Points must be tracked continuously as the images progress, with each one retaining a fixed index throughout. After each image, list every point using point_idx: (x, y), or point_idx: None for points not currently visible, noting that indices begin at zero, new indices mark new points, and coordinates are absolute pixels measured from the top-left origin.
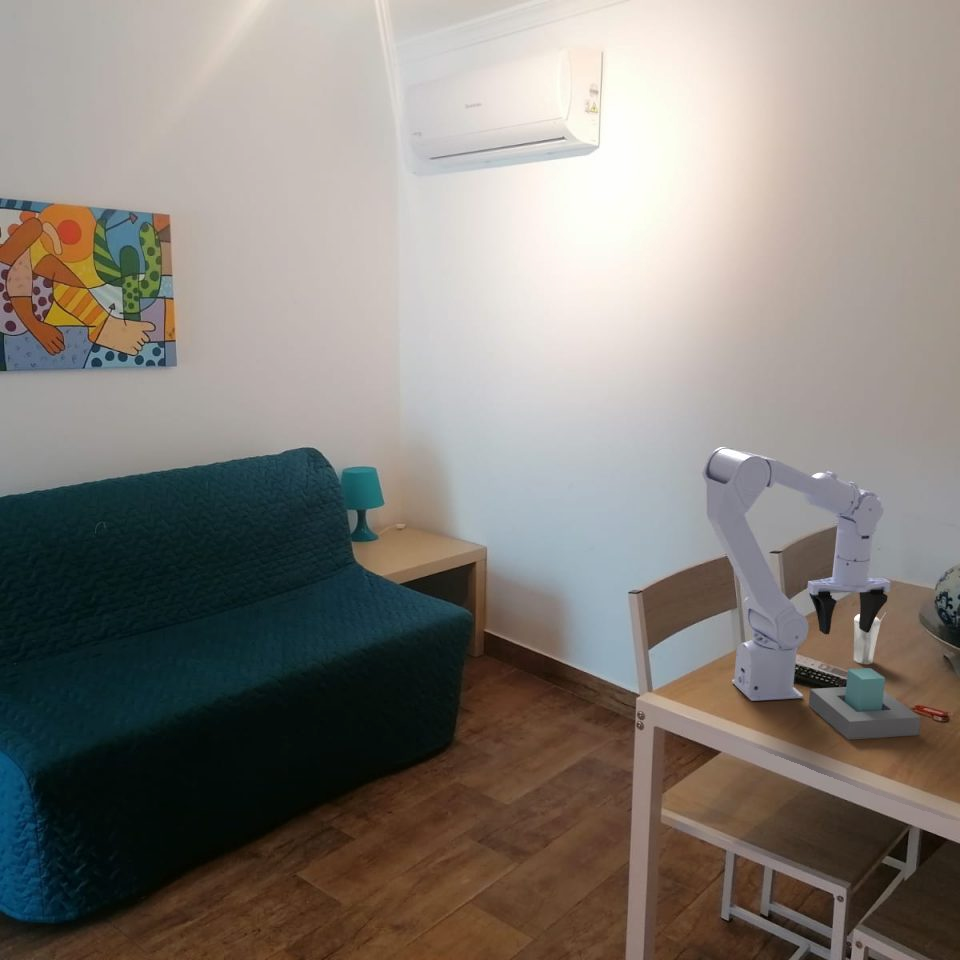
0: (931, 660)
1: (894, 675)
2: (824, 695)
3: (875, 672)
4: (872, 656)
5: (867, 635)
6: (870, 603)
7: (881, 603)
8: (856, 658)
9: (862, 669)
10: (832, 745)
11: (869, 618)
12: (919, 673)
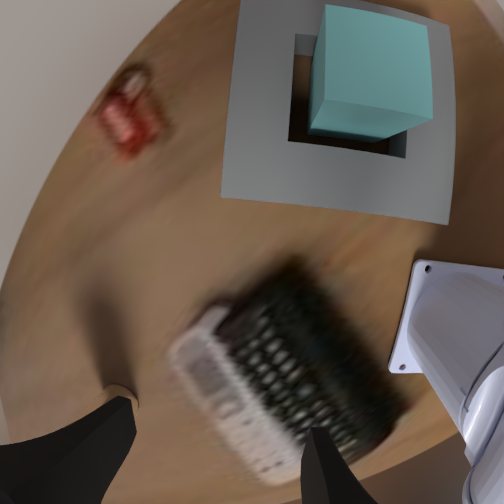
0: (9, 348)
1: (89, 322)
2: (437, 172)
3: (331, 55)
4: (101, 392)
5: None
6: (59, 490)
7: (7, 455)
8: (135, 406)
9: (371, 97)
10: (468, 41)
11: (95, 433)
12: (41, 312)
